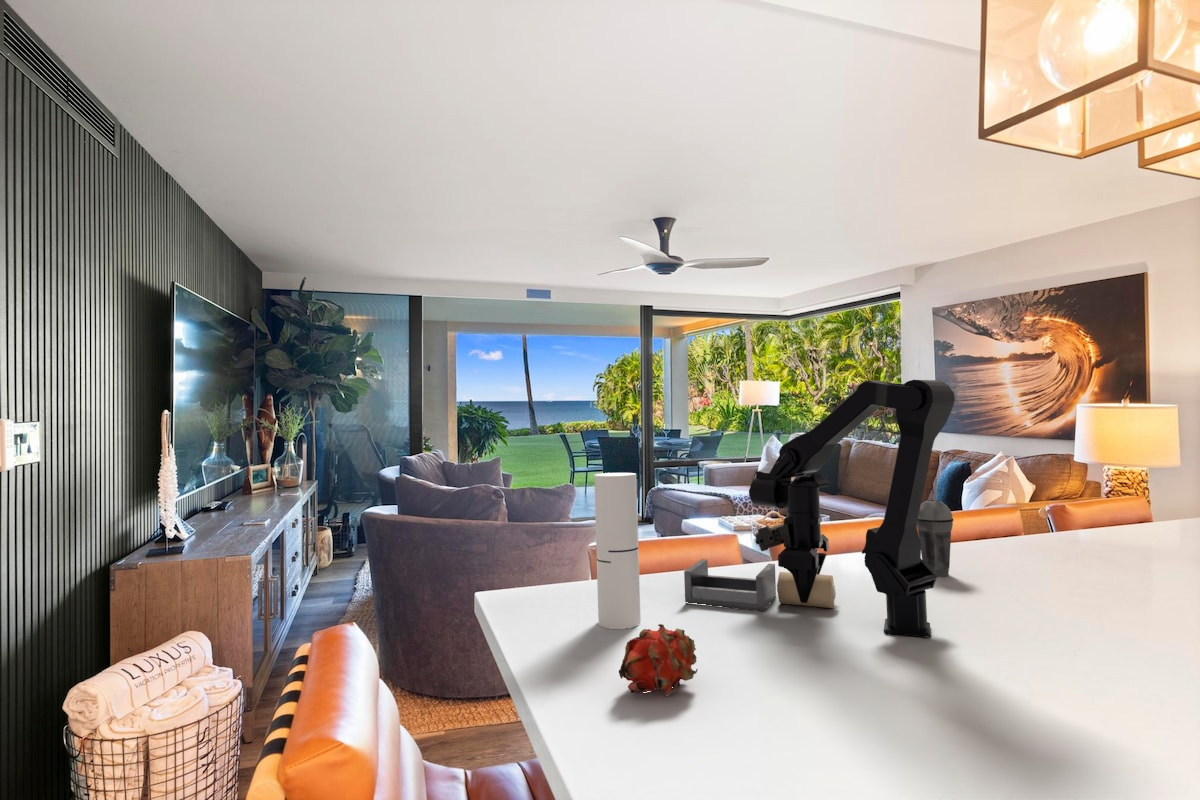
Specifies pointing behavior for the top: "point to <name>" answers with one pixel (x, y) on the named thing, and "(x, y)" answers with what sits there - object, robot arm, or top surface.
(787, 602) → the paper roll
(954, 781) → the top surface
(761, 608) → the cradle
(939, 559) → the beverage cup
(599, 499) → the cylindrical container
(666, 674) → the dragon fruit
